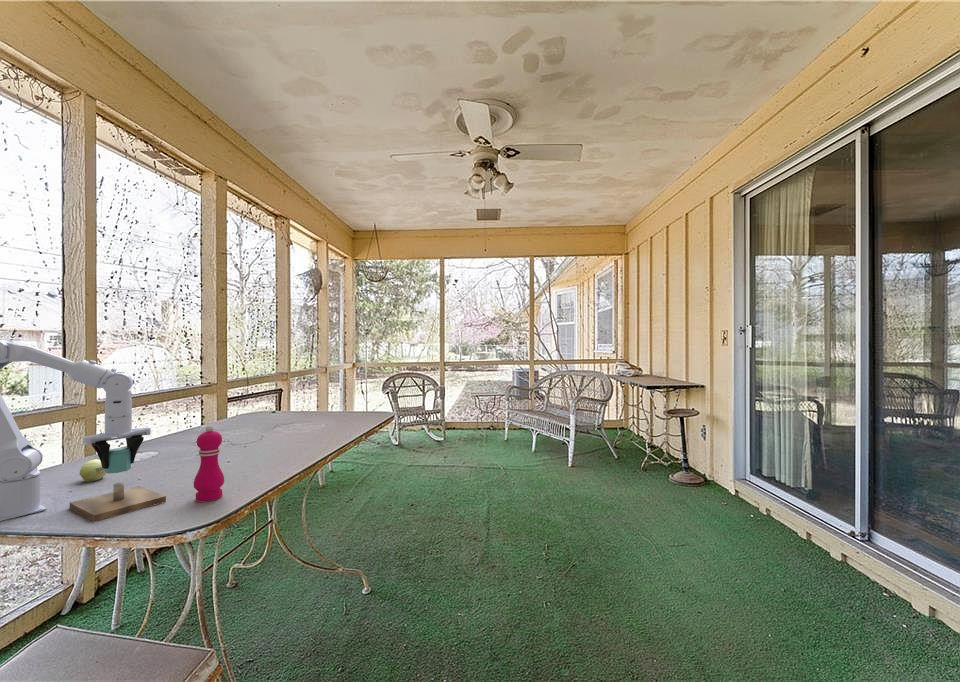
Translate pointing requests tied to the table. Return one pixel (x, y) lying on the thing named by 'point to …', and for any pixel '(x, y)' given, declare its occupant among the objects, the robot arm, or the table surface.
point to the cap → (119, 460)
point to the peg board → (116, 502)
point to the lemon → (92, 470)
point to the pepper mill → (209, 467)
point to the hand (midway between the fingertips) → (118, 465)
